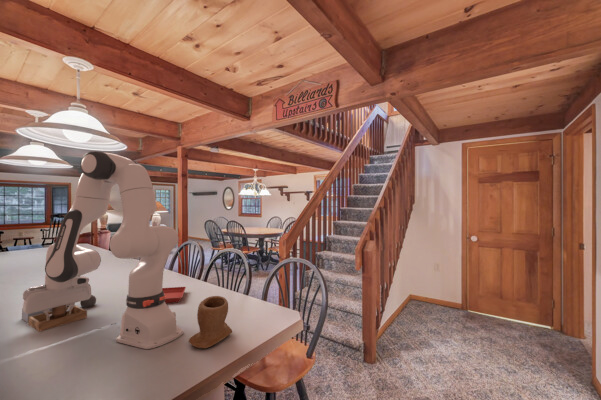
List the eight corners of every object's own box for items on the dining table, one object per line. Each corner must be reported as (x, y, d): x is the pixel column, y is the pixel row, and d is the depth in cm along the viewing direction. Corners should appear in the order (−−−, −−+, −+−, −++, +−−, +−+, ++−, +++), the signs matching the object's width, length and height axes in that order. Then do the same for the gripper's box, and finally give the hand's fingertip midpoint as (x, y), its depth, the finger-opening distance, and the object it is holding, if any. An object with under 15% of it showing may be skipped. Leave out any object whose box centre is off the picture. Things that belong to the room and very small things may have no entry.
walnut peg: (67, 320, 105) (67, 304, 105) (53, 323, 102) (54, 308, 102) (63, 317, 107) (63, 302, 108) (49, 321, 104) (50, 305, 104)
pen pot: (52, 318, 108) (52, 306, 108) (27, 325, 102) (28, 312, 102) (45, 314, 112) (46, 302, 112) (21, 320, 106) (22, 308, 106)
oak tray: (86, 319, 108) (87, 310, 108) (38, 333, 95) (39, 323, 96) (74, 313, 114) (75, 305, 114) (28, 326, 101) (28, 316, 101)
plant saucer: (185, 292, 145) (186, 286, 145) (182, 303, 128) (182, 296, 128) (148, 295, 140) (149, 288, 140) (139, 307, 122) (140, 300, 122)
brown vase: (208, 355, 83) (209, 307, 83) (183, 345, 89) (184, 300, 89) (241, 335, 96) (242, 294, 97) (217, 328, 102) (218, 289, 102)
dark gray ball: (98, 307, 121) (98, 294, 121) (83, 311, 116) (83, 298, 116) (92, 304, 124) (93, 292, 124) (77, 308, 119) (78, 295, 119)
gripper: (26, 290, 95) (24, 329, 94) (93, 277, 112) (92, 310, 112) (20, 287, 98) (18, 325, 97) (87, 275, 115) (85, 307, 115)
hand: (58, 317), depth 105 cm, fingers open, 4 cm apart
